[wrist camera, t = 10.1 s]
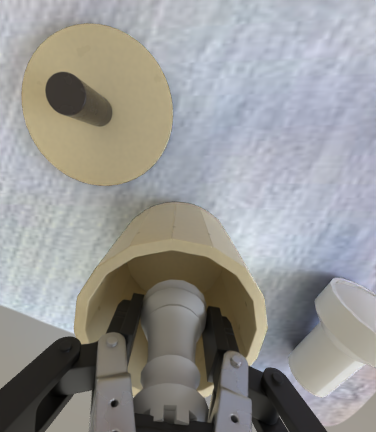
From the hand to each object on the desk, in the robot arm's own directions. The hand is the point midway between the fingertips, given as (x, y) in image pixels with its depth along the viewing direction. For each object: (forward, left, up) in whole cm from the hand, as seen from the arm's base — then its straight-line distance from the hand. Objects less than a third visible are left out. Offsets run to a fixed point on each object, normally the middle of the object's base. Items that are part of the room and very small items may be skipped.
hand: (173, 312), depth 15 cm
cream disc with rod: (-12, -9, -8) cm, 17 cm away
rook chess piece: (0, 0, -1) cm, 1 cm away
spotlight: (+4, +18, -9) cm, 20 cm away
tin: (0, 0, -9) cm, 9 cm away
